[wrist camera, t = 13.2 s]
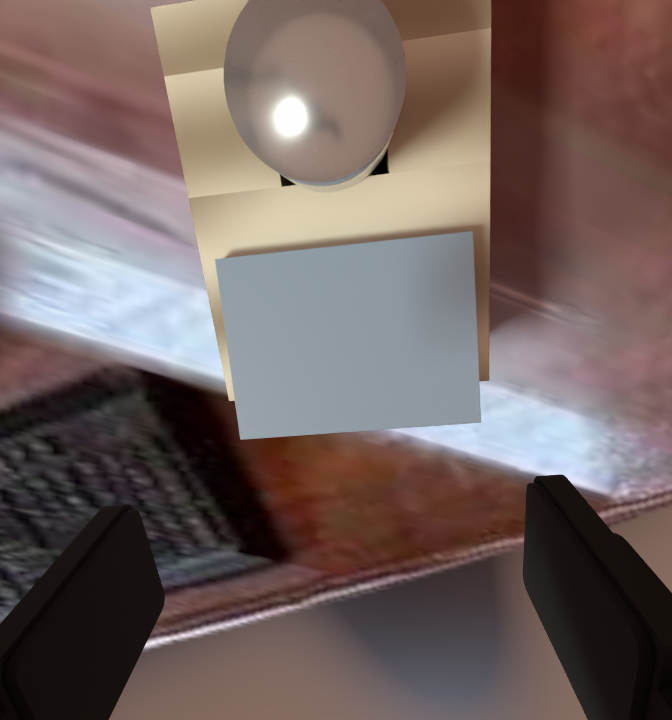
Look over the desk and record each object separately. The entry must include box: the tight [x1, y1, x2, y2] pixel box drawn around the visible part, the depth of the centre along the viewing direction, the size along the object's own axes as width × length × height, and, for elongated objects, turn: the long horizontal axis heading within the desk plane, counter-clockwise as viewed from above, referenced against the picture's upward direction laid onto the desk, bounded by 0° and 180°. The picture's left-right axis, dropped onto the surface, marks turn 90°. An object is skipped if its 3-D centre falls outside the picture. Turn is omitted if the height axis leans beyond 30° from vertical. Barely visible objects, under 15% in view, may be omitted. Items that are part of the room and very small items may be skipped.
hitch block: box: [151, 0, 491, 401], centre depth 22 cm, size 18×14×6 cm
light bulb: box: [224, 0, 406, 193], centre depth 18 cm, size 6×6×10 cm
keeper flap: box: [215, 231, 481, 439], centre depth 20 cm, size 9×12×1 cm
